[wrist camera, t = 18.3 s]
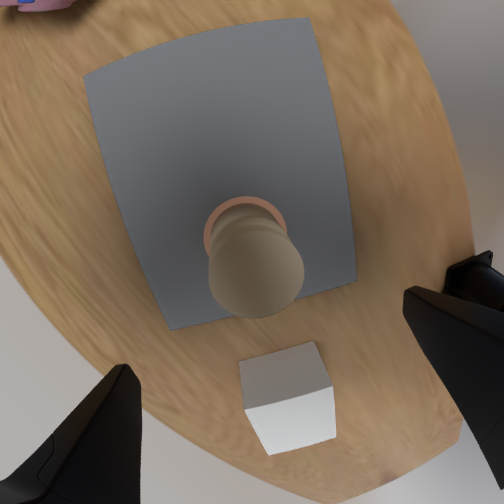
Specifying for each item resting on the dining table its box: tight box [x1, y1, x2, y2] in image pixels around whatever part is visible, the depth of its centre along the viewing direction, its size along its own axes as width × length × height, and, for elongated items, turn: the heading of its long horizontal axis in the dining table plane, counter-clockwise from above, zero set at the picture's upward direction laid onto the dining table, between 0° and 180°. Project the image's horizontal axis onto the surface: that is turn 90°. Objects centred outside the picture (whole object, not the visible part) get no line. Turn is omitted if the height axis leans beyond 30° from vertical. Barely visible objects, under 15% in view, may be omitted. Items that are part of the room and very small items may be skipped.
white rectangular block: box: [239, 341, 336, 455], centre depth 21 cm, size 6×8×5 cm
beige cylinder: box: [209, 203, 304, 318], centre depth 14 cm, size 4×4×5 cm
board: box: [83, 17, 357, 330], centre depth 15 cm, size 13×17×1 cm
